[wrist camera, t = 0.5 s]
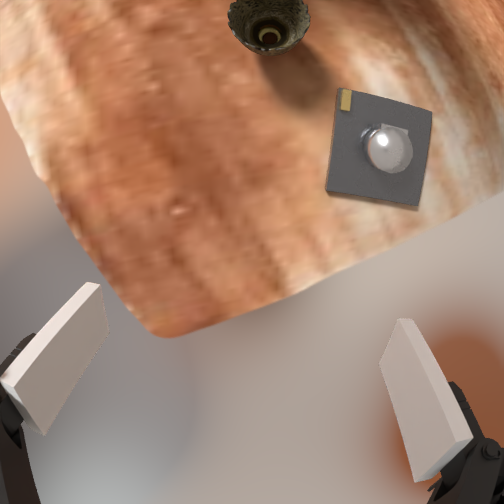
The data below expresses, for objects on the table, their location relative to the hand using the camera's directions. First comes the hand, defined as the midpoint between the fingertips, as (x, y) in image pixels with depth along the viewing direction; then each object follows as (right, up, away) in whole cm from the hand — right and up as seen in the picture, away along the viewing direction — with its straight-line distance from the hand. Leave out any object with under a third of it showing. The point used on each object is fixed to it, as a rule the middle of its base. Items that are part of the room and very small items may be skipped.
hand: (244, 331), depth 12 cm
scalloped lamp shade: (+2, +27, +16) cm, 32 cm away
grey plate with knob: (+15, +15, +19) cm, 29 cm away
